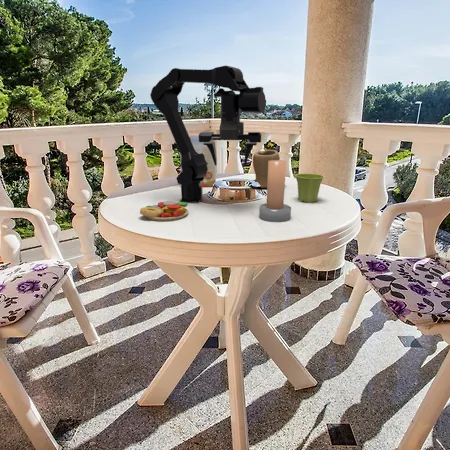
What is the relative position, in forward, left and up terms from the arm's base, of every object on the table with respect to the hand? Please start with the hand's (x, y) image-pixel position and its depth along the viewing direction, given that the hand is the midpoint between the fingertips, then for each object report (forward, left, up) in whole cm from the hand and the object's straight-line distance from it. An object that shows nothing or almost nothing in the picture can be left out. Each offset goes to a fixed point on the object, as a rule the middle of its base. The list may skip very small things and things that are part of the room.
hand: (230, 165), depth 103 cm
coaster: (+14, -11, -13) cm, 22 cm away
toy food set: (-18, -12, -14) cm, 26 cm away
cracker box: (-16, +30, -13) cm, 37 cm away
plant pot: (+26, +10, -13) cm, 31 cm away
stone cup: (+13, +30, -13) cm, 35 cm away
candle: (+14, -11, -10) cm, 20 cm away
